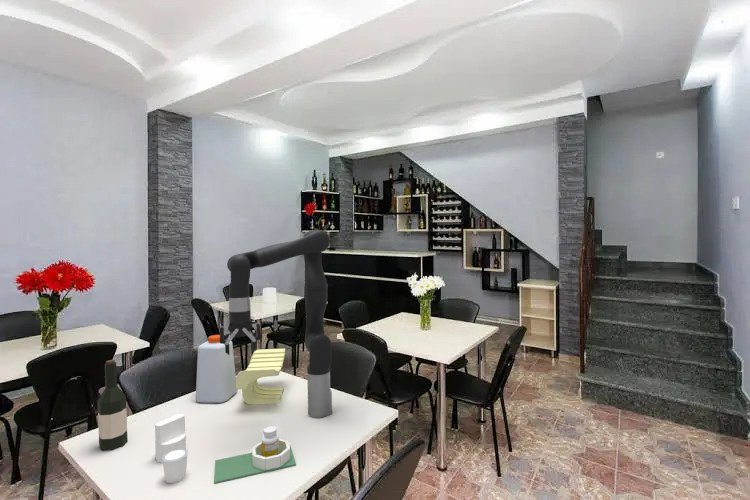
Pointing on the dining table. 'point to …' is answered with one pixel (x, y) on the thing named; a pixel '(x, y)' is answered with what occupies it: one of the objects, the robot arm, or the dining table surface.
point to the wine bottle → (112, 412)
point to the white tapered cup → (175, 465)
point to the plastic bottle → (215, 372)
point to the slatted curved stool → (261, 366)
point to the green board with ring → (253, 463)
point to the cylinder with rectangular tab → (169, 436)
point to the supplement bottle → (270, 442)
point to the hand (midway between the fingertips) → (240, 352)
